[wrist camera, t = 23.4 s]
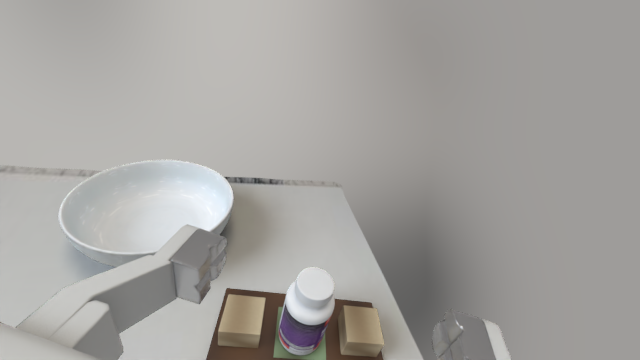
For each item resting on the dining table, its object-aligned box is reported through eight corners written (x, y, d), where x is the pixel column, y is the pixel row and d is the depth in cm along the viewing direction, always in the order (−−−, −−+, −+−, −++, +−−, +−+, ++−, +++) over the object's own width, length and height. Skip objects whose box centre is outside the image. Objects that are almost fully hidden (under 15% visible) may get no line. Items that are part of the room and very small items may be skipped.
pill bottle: (323, 357, 32) (345, 308, 27) (276, 356, 31) (289, 305, 26) (319, 312, 36) (337, 262, 31) (278, 310, 35) (289, 259, 30)
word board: (370, 304, 39) (378, 289, 38) (386, 387, 31) (397, 372, 29) (226, 290, 37) (227, 273, 35) (202, 376, 28) (201, 360, 26)
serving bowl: (236, 193, 54) (238, 163, 50) (225, 289, 37) (227, 254, 33) (112, 186, 48) (104, 152, 45) (33, 294, 32) (9, 253, 28)
